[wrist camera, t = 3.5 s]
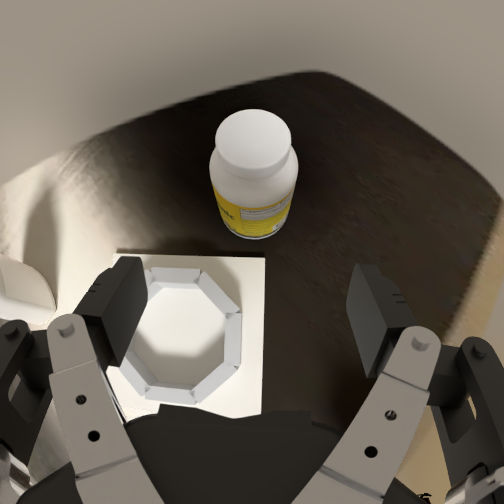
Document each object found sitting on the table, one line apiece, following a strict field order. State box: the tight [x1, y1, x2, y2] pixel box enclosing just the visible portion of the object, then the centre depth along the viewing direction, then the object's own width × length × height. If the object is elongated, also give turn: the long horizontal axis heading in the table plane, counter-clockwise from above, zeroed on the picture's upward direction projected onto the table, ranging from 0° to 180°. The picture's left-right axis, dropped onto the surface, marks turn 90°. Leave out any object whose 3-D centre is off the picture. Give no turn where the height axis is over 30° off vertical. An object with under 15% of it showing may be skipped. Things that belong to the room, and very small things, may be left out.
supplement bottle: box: [209, 109, 298, 239], centre depth 20 cm, size 5×5×10 cm
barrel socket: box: [106, 253, 265, 418], centre depth 21 cm, size 12×12×3 cm
